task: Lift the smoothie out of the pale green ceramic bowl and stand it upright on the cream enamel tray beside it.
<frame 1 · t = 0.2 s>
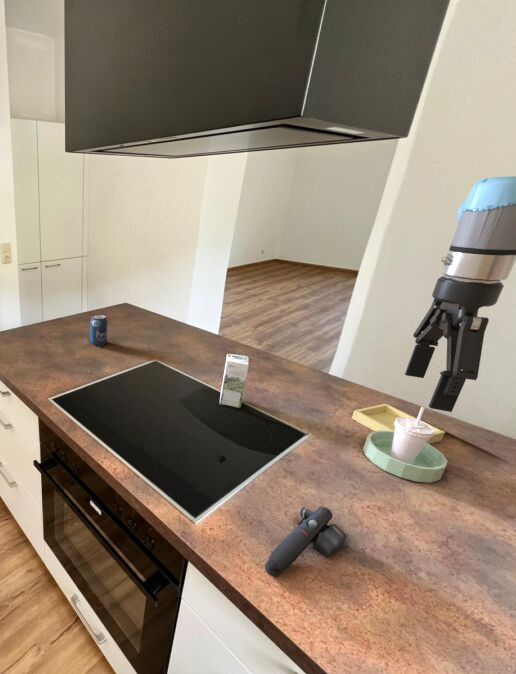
hand: (425, 391, 67), 23 cm above the worktop, tool pointing down, fingers open, 13 cm apart
tray: (394, 429, 93), on the worktop
smoothie: (400, 461, 82), resting on bowl
soda can: (98, 344, 151), on the worktop
syrup box: (229, 402, 107), on the worktop
can opener: (298, 552, 62), on the worktop
bowl: (399, 462, 82), on the worktop
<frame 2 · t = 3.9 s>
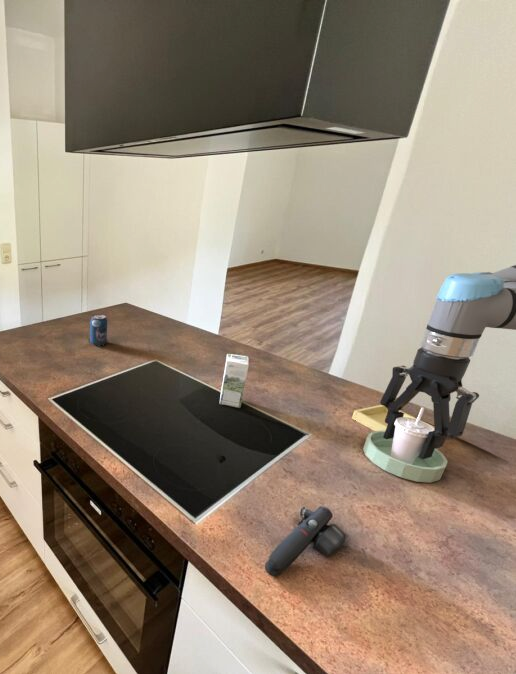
hand: (406, 446, 80), 4 cm above the worktop, tool pointing down, fingers closed on smoothie, 6 cm apart
smoothie: (400, 461, 82), resting on bowl, touching gripper
everything else where it was.
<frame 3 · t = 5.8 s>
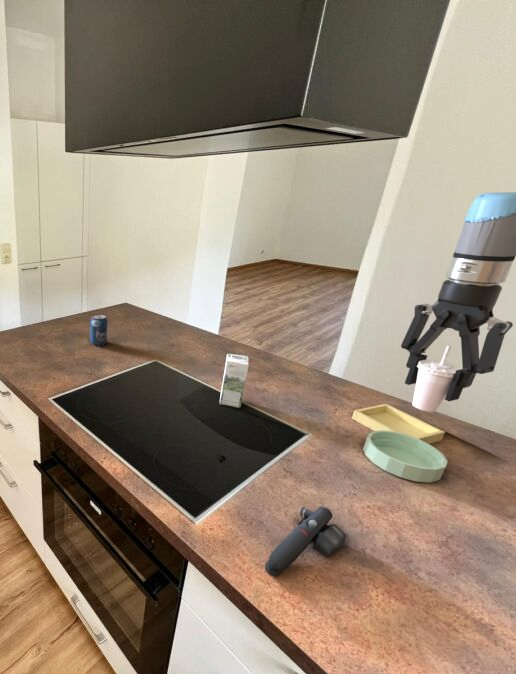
hand: (430, 390, 75), 19 cm above the worktop, tool pointing down, fingers closed on smoothie, 6 cm apart
smoothie: (423, 407, 76), point 15 cm above the worktop, touching gripper
everything else where it was.
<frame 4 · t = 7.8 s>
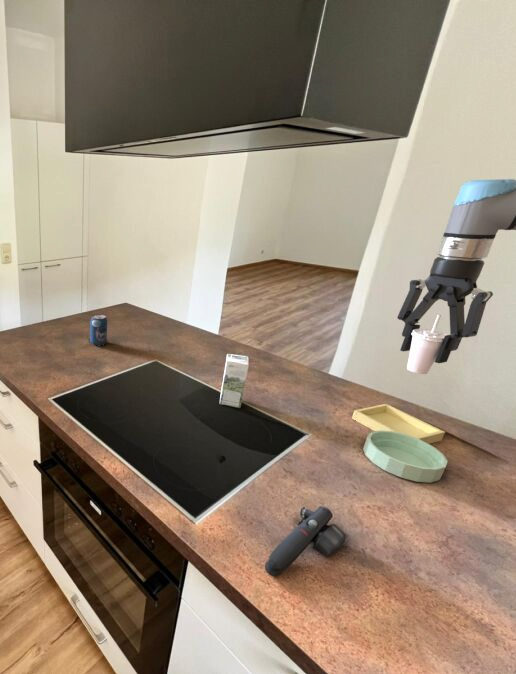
hand: (422, 355, 85), 21 cm above the worktop, tool pointing down, fingers closed on smoothie, 6 cm apart
smoothie: (416, 371, 87), point 17 cm above the worktop, touching gripper
everything else where it was.
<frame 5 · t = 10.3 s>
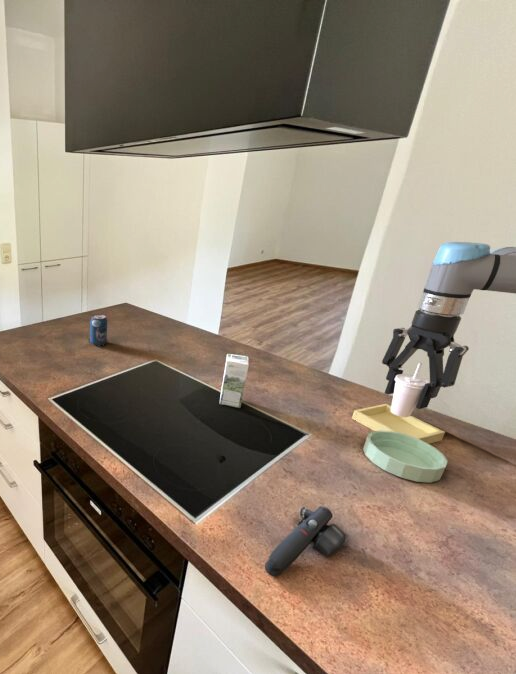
hand: (405, 399, 90), 9 cm above the worktop, tool pointing down, fingers closed on smoothie, 6 cm apart
smoothie: (399, 413, 92), point 5 cm above the worktop, touching gripper
everything else where it was.
when the fingers open (5 cm above the worktop, at t = 11.7 s): smoothie stays where it is, resting on tray.
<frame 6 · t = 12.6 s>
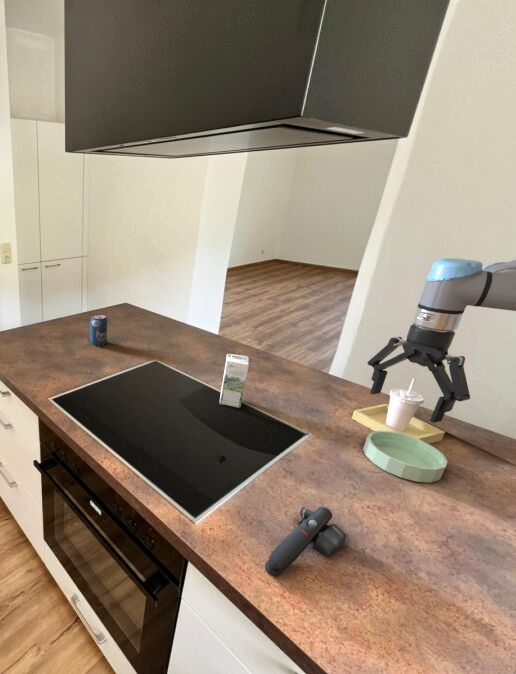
hand: (403, 406, 91), 7 cm above the worktop, tool pointing down, fingers open, 13 cm apart
smoothie: (394, 427, 93), resting on tray
everything else where it was.
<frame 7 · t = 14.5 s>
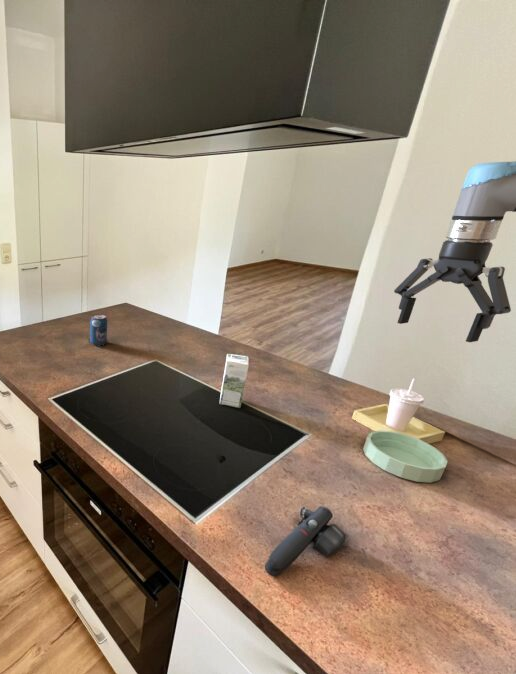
hand: (434, 331, 86), 26 cm above the worktop, tool pointing down, fingers open, 13 cm apart
nothing on the worktop moved.
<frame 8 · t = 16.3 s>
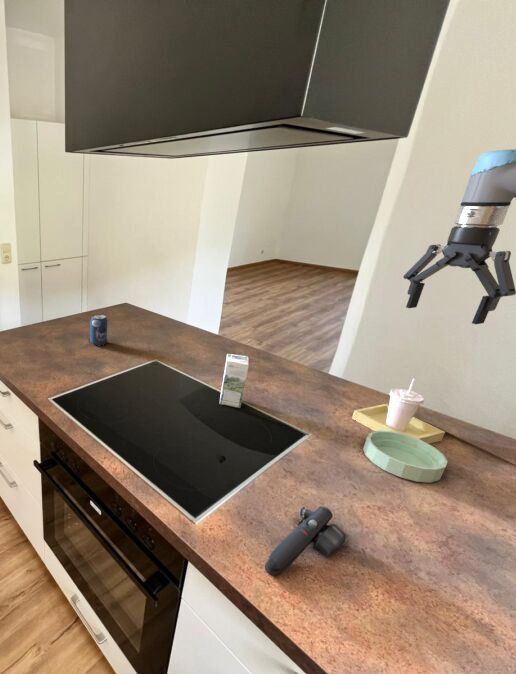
hand: (442, 315, 89), 29 cm above the worktop, tool pointing down, fingers open, 13 cm apart
nothing on the worktop moved.
at the end: smoothie inside the target area in the tray (0.0 cm from its centre), point 0.4 cm above the tray's base; smoothie tilted 0°; the gripper is holding nothing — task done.
